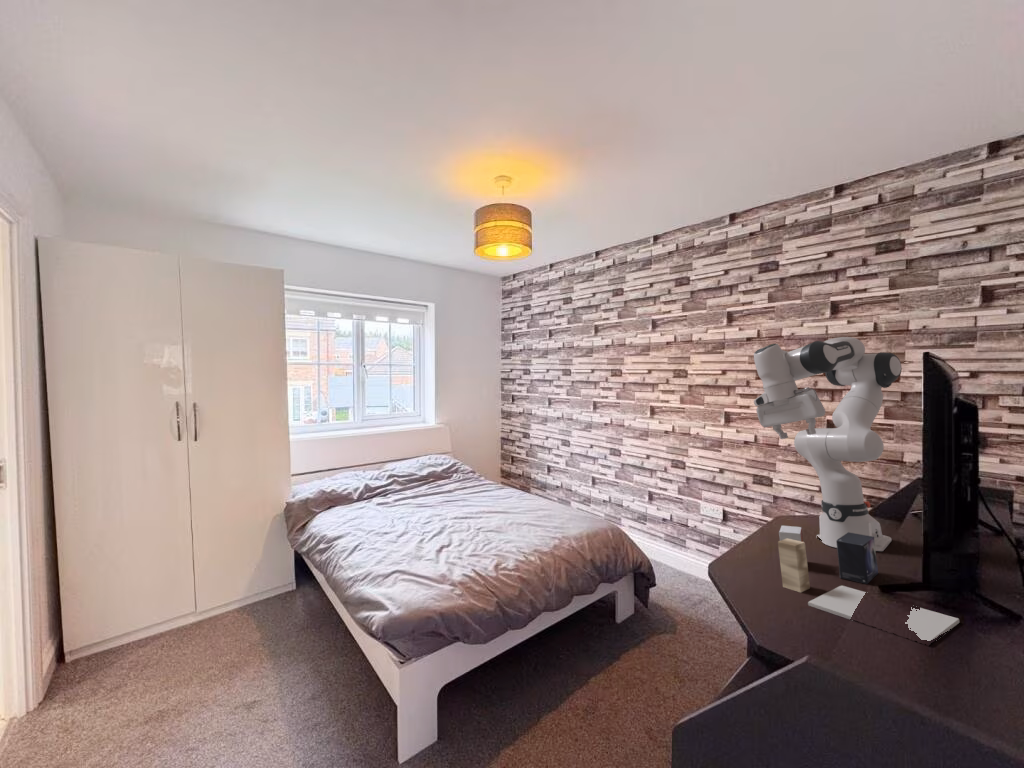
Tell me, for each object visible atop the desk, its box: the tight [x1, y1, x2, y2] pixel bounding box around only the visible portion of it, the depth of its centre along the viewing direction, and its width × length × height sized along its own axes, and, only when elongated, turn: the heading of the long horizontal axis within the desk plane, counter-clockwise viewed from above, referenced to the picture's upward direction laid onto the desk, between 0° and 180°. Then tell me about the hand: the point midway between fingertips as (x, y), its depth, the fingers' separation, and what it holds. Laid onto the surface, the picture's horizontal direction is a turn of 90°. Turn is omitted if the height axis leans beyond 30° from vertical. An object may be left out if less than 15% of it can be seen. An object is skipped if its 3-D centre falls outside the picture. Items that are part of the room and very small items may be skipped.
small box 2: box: [836, 532, 879, 585], centre depth 117 cm, size 11×6×10 cm, turn 127°
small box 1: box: [778, 525, 804, 542], centre depth 128 cm, size 8×6×10 cm
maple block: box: [777, 538, 811, 593], centre depth 113 cm, size 4×4×12 cm
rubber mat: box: [807, 585, 960, 641], centre depth 97 cm, size 16×22×1 cm
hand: (797, 436), depth 130 cm, fingers open, 8 cm apart
